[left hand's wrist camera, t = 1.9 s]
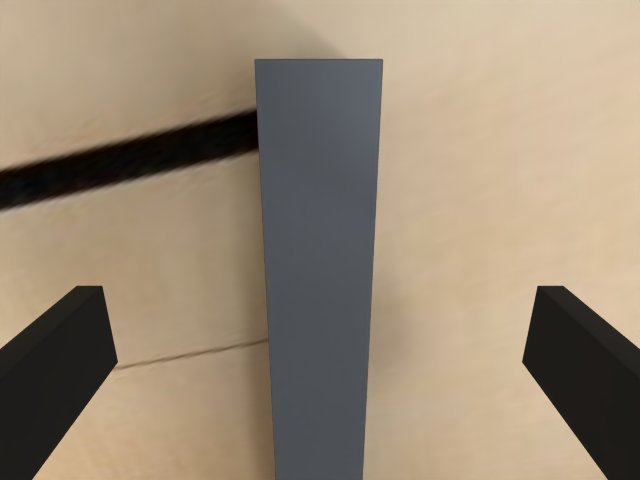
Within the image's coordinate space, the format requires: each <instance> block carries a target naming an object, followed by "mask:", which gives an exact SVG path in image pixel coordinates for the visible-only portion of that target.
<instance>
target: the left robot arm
mask: <svg viewBox="0 0 640 480" xmlns="http://www.w3.org/2000/svg"><path fill="white" fill-rule="evenodd" d="M117 363H118V360H117V355H116V350H115V346H114V341H113V336H112V331H111V326H110V321H109V316H108V311H107V307H106V302H105V297H104V292H103V287H102V286H76V287H75V288H74V289H72V290H71V291H70V292H69V293H68V294H66V295H65V296H64V297H63V298H62V299H60V300H59V301H58V302H57V303H55V304H54V305H53V306H52V307H51V308H49V309H48V310H47V311H46V312H45V313H43V314H42V315H41V316H40V317H39V318H37V319H36V320H35V321H34V322H32V323H31V324H30V325H29V326H28V327H26V328H25V329H24V330H23V331H22V332H20V333H19V334H18V335H17V336H16V337H14V338H13V339H12V340H11V341H9V342H8V343H7V344H6V345H5V346H3V347H2V348H1V349H0V480H32V479H33V478H34V476H35V475H36V474H37V472H38V471H39V470H40V468H41V467H42V465H43V464H44V463H45V461H46V460H47V459H48V457H49V456H50V454H51V453H52V452H53V450H54V449H55V448H56V446H57V445H58V443H59V442H60V441H61V439H62V438H63V437H64V435H65V434H66V433H67V431H68V430H69V428H70V427H71V426H72V424H73V423H74V422H75V420H76V419H77V417H78V416H79V415H80V413H81V412H82V411H83V409H84V408H85V406H86V405H87V404H88V402H89V401H90V400H91V398H92V397H93V396H94V394H95V393H96V391H97V390H98V389H99V387H100V386H101V385H102V383H103V382H104V380H105V379H106V378H107V376H108V375H109V374H110V372H111V371H112V369H113V368H114V367H115V365H116V364H117ZM522 363H523V364H524V365H525V367H526V368H527V369H528V371H529V372H530V374H531V375H532V376H533V378H534V379H535V380H536V382H537V383H538V385H539V386H540V387H541V389H542V390H543V391H544V393H545V394H546V396H547V397H548V398H549V400H550V401H551V402H552V404H553V405H554V406H555V408H556V409H557V411H558V412H559V413H560V415H561V416H562V417H563V419H564V420H565V422H566V423H567V424H568V426H569V427H570V428H571V430H572V431H573V433H574V434H575V435H576V437H577V438H578V439H579V441H580V442H581V443H582V445H583V446H584V448H585V449H586V450H587V452H588V453H589V454H590V456H591V457H592V459H593V460H594V461H595V463H596V464H597V465H598V467H599V468H600V470H601V471H602V472H603V474H604V475H605V476H606V478H607V479H608V480H640V349H639V348H638V347H637V346H635V345H634V344H633V343H632V342H631V341H629V340H628V339H627V338H626V337H624V336H623V335H622V334H621V333H620V332H618V331H617V330H616V329H615V328H614V327H612V326H611V325H610V324H609V323H608V322H606V321H605V320H604V319H603V318H601V317H600V316H599V315H598V314H597V313H595V312H594V311H593V310H592V309H591V308H589V307H588V306H587V305H586V304H585V303H583V302H582V301H581V300H580V299H578V298H577V297H576V296H575V295H574V294H572V293H571V292H570V291H569V290H568V289H566V288H565V287H564V286H538V287H537V292H536V297H535V302H534V307H533V311H532V316H531V321H530V326H529V331H528V336H527V341H526V346H525V350H524V355H523V360H522Z"/></svg>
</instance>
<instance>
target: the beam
mask: <svg viewBox="0 0 640 480" xmlns="http://www.w3.org/2000/svg"><path fill="white" fill-rule="evenodd" d="M382 73H383V59H255V80H256V100H257V120H258V139H259V159H260V179H261V198H262V218H263V238H264V257H265V277H266V296H267V316H268V336H269V355H270V375H271V395H272V414H273V434H274V454H275V473H276V480H363V460H364V440H365V419H366V399H367V379H368V358H369V338H370V317H371V297H372V277H373V256H374V236H375V215H376V195H377V175H378V154H379V134H380V113H381V93H382Z"/></svg>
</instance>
